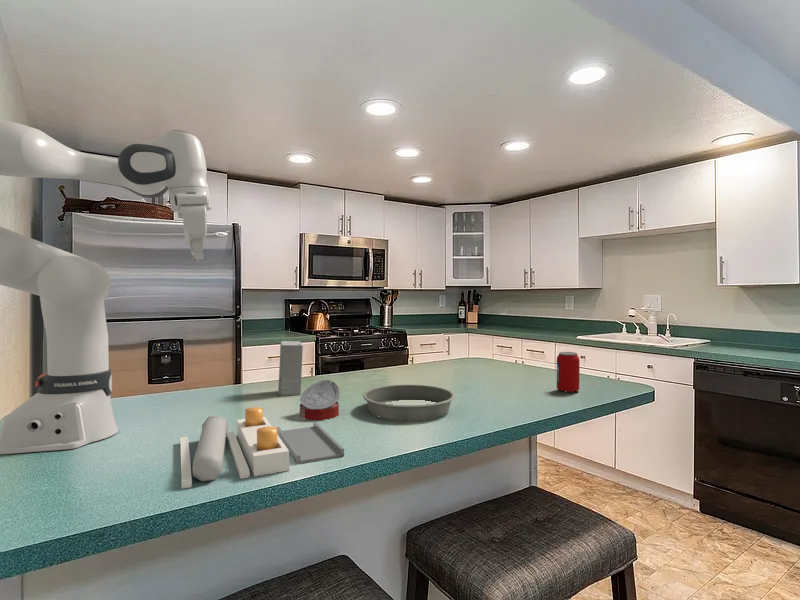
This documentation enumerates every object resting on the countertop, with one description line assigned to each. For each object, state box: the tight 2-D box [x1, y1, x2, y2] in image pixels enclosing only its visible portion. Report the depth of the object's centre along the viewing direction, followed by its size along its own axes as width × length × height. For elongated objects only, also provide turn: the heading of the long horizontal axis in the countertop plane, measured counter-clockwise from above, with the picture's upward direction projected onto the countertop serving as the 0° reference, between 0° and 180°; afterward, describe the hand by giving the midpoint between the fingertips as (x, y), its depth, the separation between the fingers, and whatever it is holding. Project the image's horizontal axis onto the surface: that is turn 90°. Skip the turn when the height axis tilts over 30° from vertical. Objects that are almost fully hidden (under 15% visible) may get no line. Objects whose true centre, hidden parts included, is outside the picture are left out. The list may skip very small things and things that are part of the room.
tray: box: [276, 421, 345, 465], centre depth 96 cm, size 9×20×2 cm, turn 26°
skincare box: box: [277, 340, 304, 397], centre depth 145 cm, size 8×7×16 cm
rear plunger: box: [244, 406, 264, 427], centre depth 99 cm, size 4×4×4 cm
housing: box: [179, 416, 290, 489], centre depth 90 cm, size 17×25×4 cm
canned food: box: [299, 379, 341, 421], centre depth 119 cm, size 11×10×10 cm
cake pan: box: [362, 384, 456, 421], centre depth 124 cm, size 25×25×4 cm
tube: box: [192, 415, 229, 483], centre depth 88 cm, size 5×5×25 cm
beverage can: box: [556, 351, 581, 393], centre depth 146 cm, size 7×7×12 cm
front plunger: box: [257, 426, 277, 451], centre depth 85 cm, size 4×4×4 cm
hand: (198, 261), depth 111 cm, fingers open, 8 cm apart
